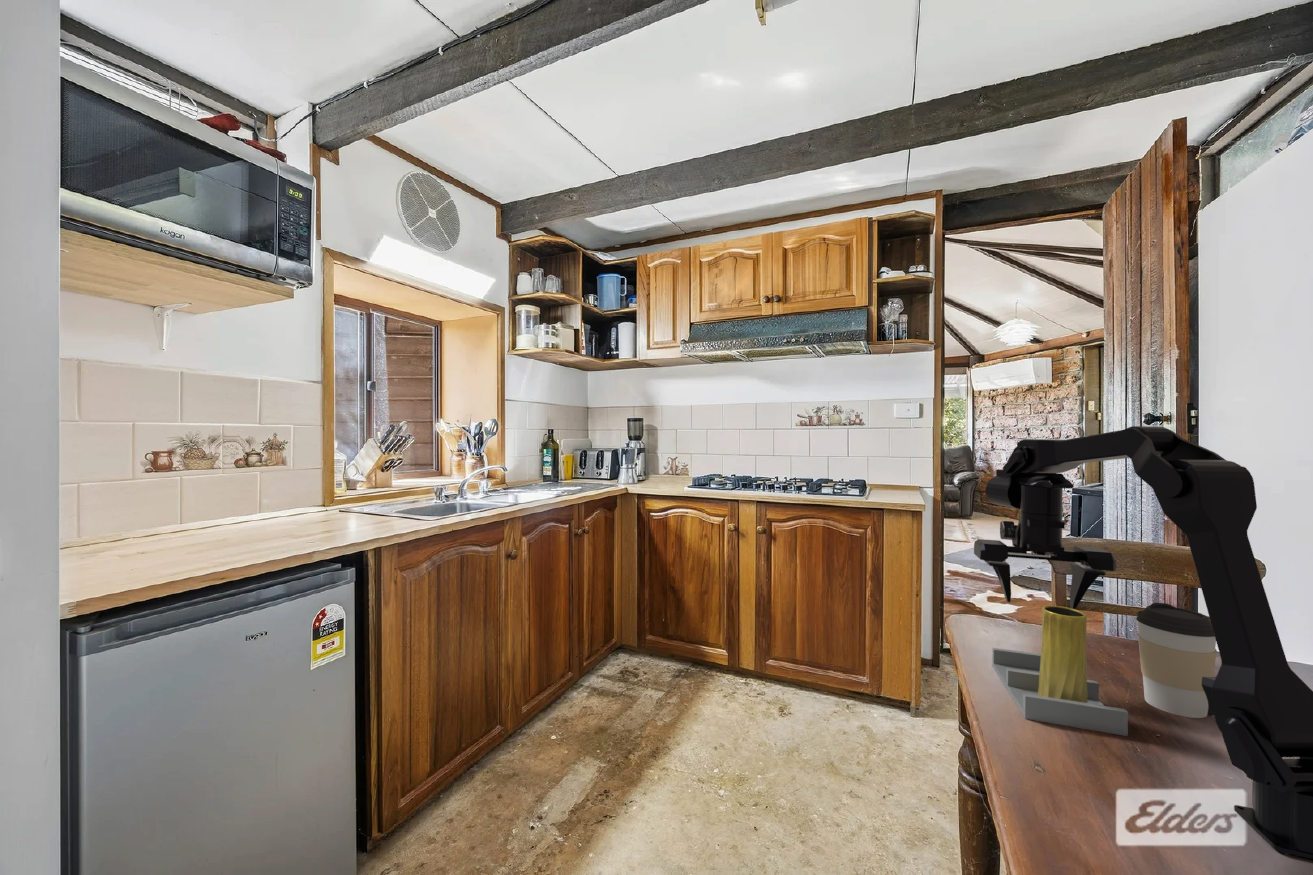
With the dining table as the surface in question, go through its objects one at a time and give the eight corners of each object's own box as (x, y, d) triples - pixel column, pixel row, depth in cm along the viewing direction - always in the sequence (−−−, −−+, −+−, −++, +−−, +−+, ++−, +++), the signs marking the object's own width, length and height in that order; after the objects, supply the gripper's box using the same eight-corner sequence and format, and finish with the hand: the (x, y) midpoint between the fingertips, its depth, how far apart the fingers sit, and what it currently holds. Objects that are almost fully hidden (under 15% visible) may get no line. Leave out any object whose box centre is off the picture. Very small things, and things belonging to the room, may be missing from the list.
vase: (1028, 699, 80) (1030, 607, 80) (1051, 691, 83) (1053, 602, 83) (1073, 719, 75) (1075, 620, 74) (1097, 710, 77) (1099, 614, 77)
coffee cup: (1236, 725, 75) (1237, 621, 75) (1162, 718, 77) (1163, 616, 77) (1186, 695, 84) (1187, 602, 84) (1121, 689, 86) (1122, 598, 86)
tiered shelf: (1127, 735, 72) (1128, 712, 72) (1025, 718, 76) (1025, 696, 76) (1072, 677, 90) (1073, 658, 90) (992, 665, 94) (992, 647, 94)
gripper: (1088, 510, 92) (1087, 597, 92) (968, 504, 99) (967, 586, 99) (1118, 519, 82) (1117, 617, 82) (981, 511, 88) (980, 603, 88)
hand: (1039, 604), depth 88 cm, fingers open, 9 cm apart
